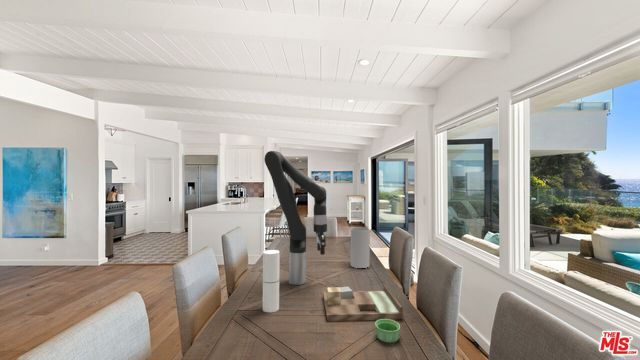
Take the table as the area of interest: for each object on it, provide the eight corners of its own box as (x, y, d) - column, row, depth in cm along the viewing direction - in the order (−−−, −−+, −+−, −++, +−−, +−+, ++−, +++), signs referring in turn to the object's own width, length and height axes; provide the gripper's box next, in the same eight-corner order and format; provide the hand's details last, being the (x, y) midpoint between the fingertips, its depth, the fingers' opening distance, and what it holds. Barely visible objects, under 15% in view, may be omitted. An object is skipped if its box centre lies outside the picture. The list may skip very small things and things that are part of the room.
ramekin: (383, 327, 107) (383, 316, 107) (404, 337, 101) (405, 324, 101) (369, 336, 101) (370, 324, 101) (391, 347, 95) (391, 334, 95)
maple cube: (328, 304, 121) (328, 292, 121) (327, 299, 126) (327, 287, 127) (340, 304, 121) (340, 291, 121) (339, 299, 127) (339, 287, 127)
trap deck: (327, 321, 112) (327, 308, 112) (323, 296, 136) (323, 286, 136) (402, 319, 113) (402, 307, 114) (385, 295, 137) (385, 285, 137)
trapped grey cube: (341, 304, 128) (341, 292, 128) (337, 299, 133) (337, 287, 133) (352, 302, 129) (352, 290, 130) (347, 297, 135) (347, 286, 135)
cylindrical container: (265, 313, 117) (265, 254, 118) (260, 307, 124) (261, 250, 124) (281, 310, 121) (281, 252, 121) (275, 303, 127) (276, 249, 127)
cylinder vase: (370, 269, 179) (371, 230, 179) (351, 269, 179) (351, 230, 179) (367, 263, 191) (368, 227, 192) (349, 263, 191) (349, 227, 192)
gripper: (311, 221, 158) (312, 249, 158) (315, 225, 144) (316, 256, 144) (324, 220, 160) (324, 248, 160) (329, 224, 146) (330, 255, 146)
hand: (320, 252), depth 152 cm, fingers open, 8 cm apart
